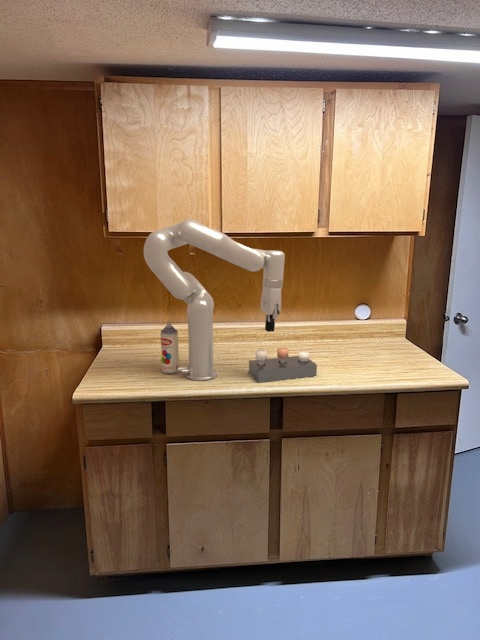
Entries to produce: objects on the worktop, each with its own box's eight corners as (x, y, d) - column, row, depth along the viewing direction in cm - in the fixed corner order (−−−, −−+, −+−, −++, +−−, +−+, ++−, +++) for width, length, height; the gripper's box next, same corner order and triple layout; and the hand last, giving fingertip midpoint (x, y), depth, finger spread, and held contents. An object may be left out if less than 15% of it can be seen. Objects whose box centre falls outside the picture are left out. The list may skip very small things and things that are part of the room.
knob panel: (258, 382, 175) (258, 370, 173) (248, 372, 186) (248, 360, 185) (316, 376, 181) (316, 364, 180) (303, 366, 193) (304, 355, 191)
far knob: (300, 374, 183) (300, 354, 182) (295, 370, 188) (296, 351, 186) (310, 373, 185) (311, 354, 183) (305, 369, 189) (306, 350, 187)
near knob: (257, 373, 178) (257, 353, 176) (253, 369, 182) (254, 349, 180) (268, 372, 179) (268, 352, 177) (264, 368, 183) (264, 349, 181)
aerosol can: (158, 372, 185) (156, 324, 181) (169, 367, 191) (167, 320, 186) (172, 375, 182) (170, 326, 177) (182, 370, 188) (181, 322, 183)
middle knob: (279, 370, 180) (279, 351, 178) (275, 367, 184) (275, 348, 183) (289, 369, 182) (290, 350, 180) (285, 366, 186) (285, 347, 184)
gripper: (256, 280, 179) (253, 326, 184) (270, 287, 166) (267, 336, 170) (274, 280, 182) (271, 325, 186) (289, 287, 168) (286, 335, 172)
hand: (269, 330), depth 178 cm, fingers closed
